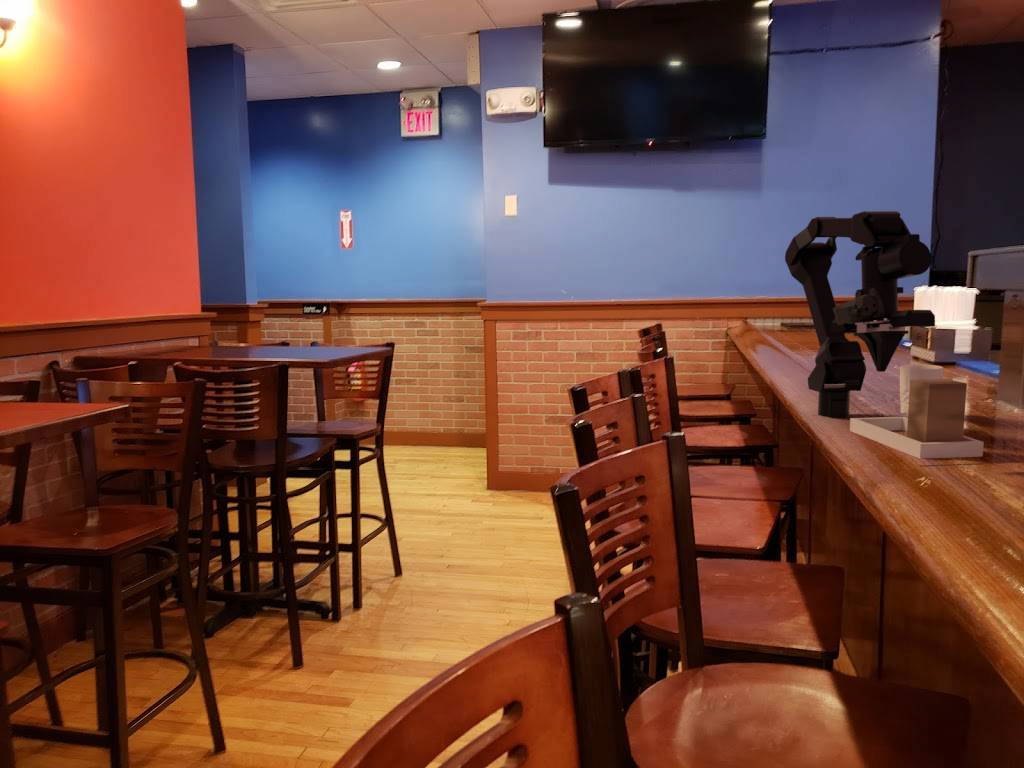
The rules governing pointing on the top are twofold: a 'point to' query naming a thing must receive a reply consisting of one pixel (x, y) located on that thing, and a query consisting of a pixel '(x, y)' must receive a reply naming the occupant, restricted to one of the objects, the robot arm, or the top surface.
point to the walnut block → (936, 410)
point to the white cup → (915, 373)
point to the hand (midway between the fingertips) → (881, 371)
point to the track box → (882, 433)
